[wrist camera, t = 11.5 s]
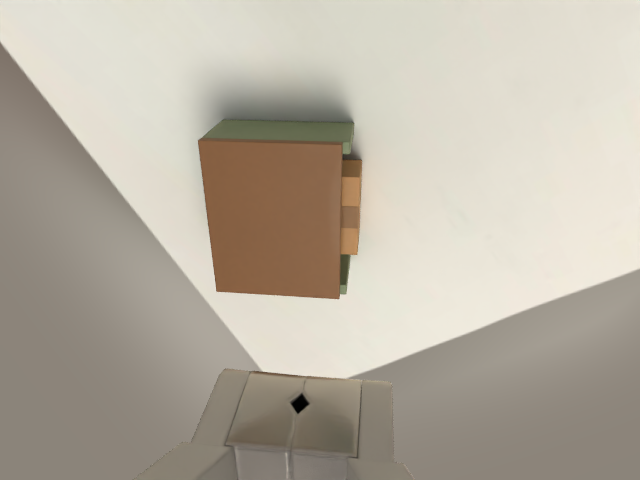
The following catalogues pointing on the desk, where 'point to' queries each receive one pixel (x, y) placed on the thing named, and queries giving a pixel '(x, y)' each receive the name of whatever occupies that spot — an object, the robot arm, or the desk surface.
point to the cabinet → (276, 206)
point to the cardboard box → (350, 205)
